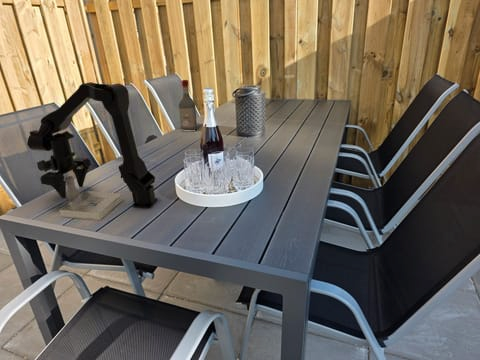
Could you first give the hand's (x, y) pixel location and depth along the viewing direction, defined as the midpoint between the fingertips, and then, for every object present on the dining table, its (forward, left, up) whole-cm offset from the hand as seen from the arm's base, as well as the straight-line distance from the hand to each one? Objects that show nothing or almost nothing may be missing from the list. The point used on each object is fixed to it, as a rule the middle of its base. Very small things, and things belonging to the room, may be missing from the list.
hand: (72, 192), depth 115 cm
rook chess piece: (0, 0, -2) cm, 2 cm away
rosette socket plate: (-12, +6, -2) cm, 14 cm away
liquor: (-10, -96, -2) cm, 97 cm away
